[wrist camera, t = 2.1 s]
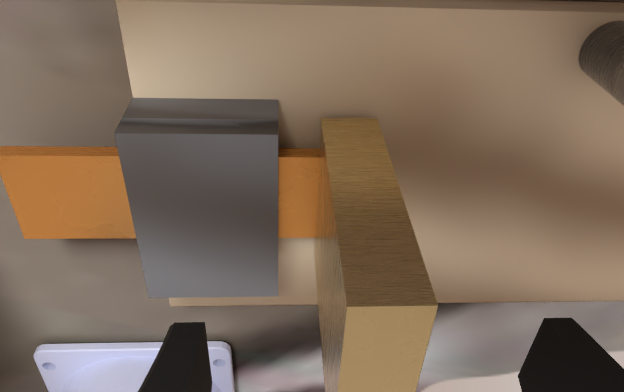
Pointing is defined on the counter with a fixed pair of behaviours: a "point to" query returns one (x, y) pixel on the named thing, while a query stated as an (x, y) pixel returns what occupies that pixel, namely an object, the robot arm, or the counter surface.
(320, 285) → the tan wooden block
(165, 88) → the strap board
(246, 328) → the counter surface
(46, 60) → the counter surface
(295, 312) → the counter surface
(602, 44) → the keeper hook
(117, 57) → the counter surface
